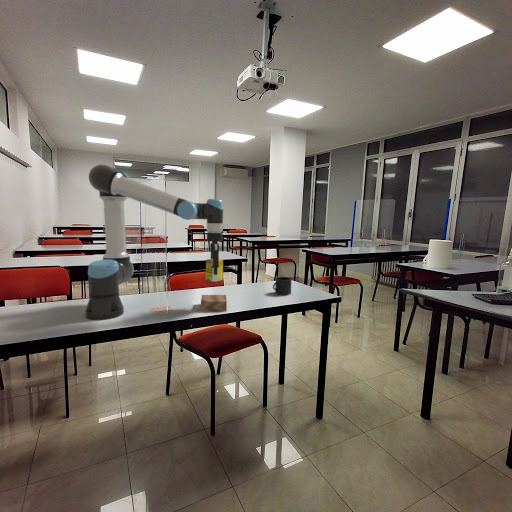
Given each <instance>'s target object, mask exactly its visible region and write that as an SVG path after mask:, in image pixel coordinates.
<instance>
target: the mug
mask: <svg viewBox="0 0 512 512" xmlns="http://www.w3.org/2000/svg"><path fill="white" fill-rule="evenodd" d="M272 289H273V290H274V293H275V294H276V293H277V294H276V295H279V294H282V295H281V296H288V295H287V294H290V295H291V294H292V278H291V277H288V276H287V277H286V276H277V277H276V278H275V282H274V283H273V285H272Z"/></svg>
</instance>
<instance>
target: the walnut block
mask: <svg viewBox="0 0 512 512" xmlns="http://www.w3.org/2000/svg"><path fill="white" fill-rule="evenodd" d="M227 302H228V301H227V295H226V294H201V297H200V312H227V304H228V303H227Z"/></svg>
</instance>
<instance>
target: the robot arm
mask: <svg viewBox="0 0 512 512" xmlns="http://www.w3.org/2000/svg"><path fill="white" fill-rule="evenodd" d="M88 181H89V184H90V185H91V187H92V188H93V189H94V190H97V191H98V193H99V199H101V200H102V201H103V212H104V213H103V215H104V217H103V219H104V231H105V232H104V234H105V235H104V236H105V254H103V256H102V259H100V260H94V261H92V262H90V263H89V265H88V266H87V267H88V268H87V276H88V278H87V279H88V297H89V298H88V301H87V305H86V308H85V312H84V313H85V318H86V317H87V318H86V319H89V318H90V319H89V320H96V319H99V320H108V319H115V318H116V317H117V318H118V317H120V316H122V315H124V313H125V311H124V310H125V309H124V305H123V303H122V300H121V298H120V285H121V284H123V283H126V282H127V281H129V280H130V278H132V277H133V274H134V271H135V270H134V265H133V263H132V261H131V257H130V256H131V255H130V254H129V253H127V241H126V222H125V221H126V220H125V219H126V217H125V201H126V200H127V199H131V200H134V201H137V202H139V203H142V204H145V205H148V206H150V207H152V208H156V209H159V210H161V211H164V212H166V213H169V214H172V215H175V216H178V217H179V218H181V219H183V220H187V221H188V220H206V240H207V241H210V242H211V243H210V244H209V248H210V249H209V250H210V259H213V266H211V268H212V281H218V267H219V259H220V257H219V255H220V244H218V242H222V241H223V240H224V239H223V238H224V237H223V236H224V234H223V228H224V227H225V226H224V225H225V224H224V225H223V222H224V220H223V219H224V201H223V200H222V199H217V198H208V199H207V200H206V203H205V202H204V203H202V202H199V203H198V202H193V201H189V200H187V199H184V198H181V197H179V196H176V195H173V194H170V193H169V192H168V193H167V192H166V191H163V190H159V189H158V188H155V187H152V186H149V185H147V184H144V183H141V182H138V181H136V180H133V179H130V178H129V177H128V175H127V174H126V172H124V171H122V170H121V169H119V168H115V167H112V166H110V165H107V164H97V165H95V166H93V167H92V168H91V169H90V170H89V173H88Z"/></svg>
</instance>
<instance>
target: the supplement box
mask: <svg viewBox="0 0 512 512" xmlns="http://www.w3.org/2000/svg"><path fill="white" fill-rule="evenodd" d="M211 266H213V259H211V258H209V259H206V260H205V282H206V283H212V284H218V283H221V282H223V278H224V277H223V275H224V273H223V272H224V269H223V268H224V259H220V258H219V267H218V281H212V268H211Z"/></svg>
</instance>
